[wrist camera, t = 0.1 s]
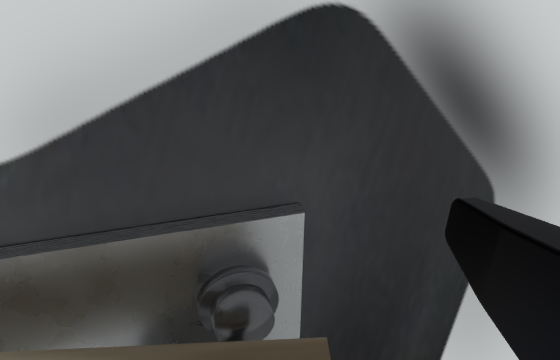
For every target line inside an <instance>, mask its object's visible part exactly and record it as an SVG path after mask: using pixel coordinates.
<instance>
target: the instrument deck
mask: <svg viewBox="0 0 560 360" xmlns="http://www.w3.org/2000/svg"><path fill="white" fill-rule="evenodd" d="M0 360H331V358H330V352H329V347H328V342H327V337H321V338H299V339H277V340H254V341H232V342H210V343H187V344H165V345H142V346H120V347H98V348H75V349H53V350H31V351H8V352H0Z"/></svg>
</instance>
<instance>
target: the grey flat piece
mask: <svg viewBox="0 0 560 360" xmlns="http://www.w3.org/2000/svg"><path fill="white" fill-rule="evenodd" d="M304 215H305V213H304V211H303V209H302V208H301V206H300V204H299V203H297V204H290V205H283V206H277V207H270V208H263V209H256V210H249V211H243V212H236V213H229V214H222V215H215V216H209V217H202V218H195V219H188V220H181V221H175V222H168V223H161V224H154V225H148V226H141V227H134V228H127V229H120V230H114V231H107V232H100V233H93V234H86V235H80V236H73V237H66V238H59V239H52V240H46V241H39V242H32V243H25V244H18V245H12V246H5V247H0V352H8V351H31V350H53V349H75V348H98V347H120V346H142V345H165V344H187V343H210V342H232V341H254V340H277V339H299V338H300V320H301V293H302V267H303V241H304Z"/></svg>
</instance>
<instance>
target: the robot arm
mask: <svg viewBox="0 0 560 360" xmlns="http://www.w3.org/2000/svg"><path fill="white" fill-rule="evenodd" d="M445 237H446V241H447V244H448V245H449V247H450V249H451V251H452V253H453V255H454V256H455V258H456V260H457V262H458V264H459V266H460V267H461V269H462V271H463V273H464V275H465V277H466V278H467V280H468V282H469V284H470V286H471V287H472V289H473V291H474V293H475V295H476V296H477V298H478V300H479V301H480V303H481V304H482V306H483V308H484V309H485V311H486V312H487V314H488V315H489V317H490V318H491V319H492V321H493V322H494V324H495V325H496V327H497V328H498V330H499V331H500V332H501V334H502V335H503V337H504V338H505V340H506V341H507V343H508V344H509V346H510V347H511V349H512V350H513V351H514V353H515V354H516V356H517V357H518V359H519V360H560V227H559V226H556V225H553V224H550V223H548V222H545V221H542V220H539V219H536V218H533V217H531V216H527V215H525V214H522V213H519V212H516V211H513V210H511V209H508V208H505V207H502V206H499V205H497V204H494V203H491V202H488V201H485V200H482V199H480V198H477V197H464V198H457V199H455V200H454V201H453V202H452V204H451V208H450V212H449V216H448V221H447V225H446V229H445Z"/></svg>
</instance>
